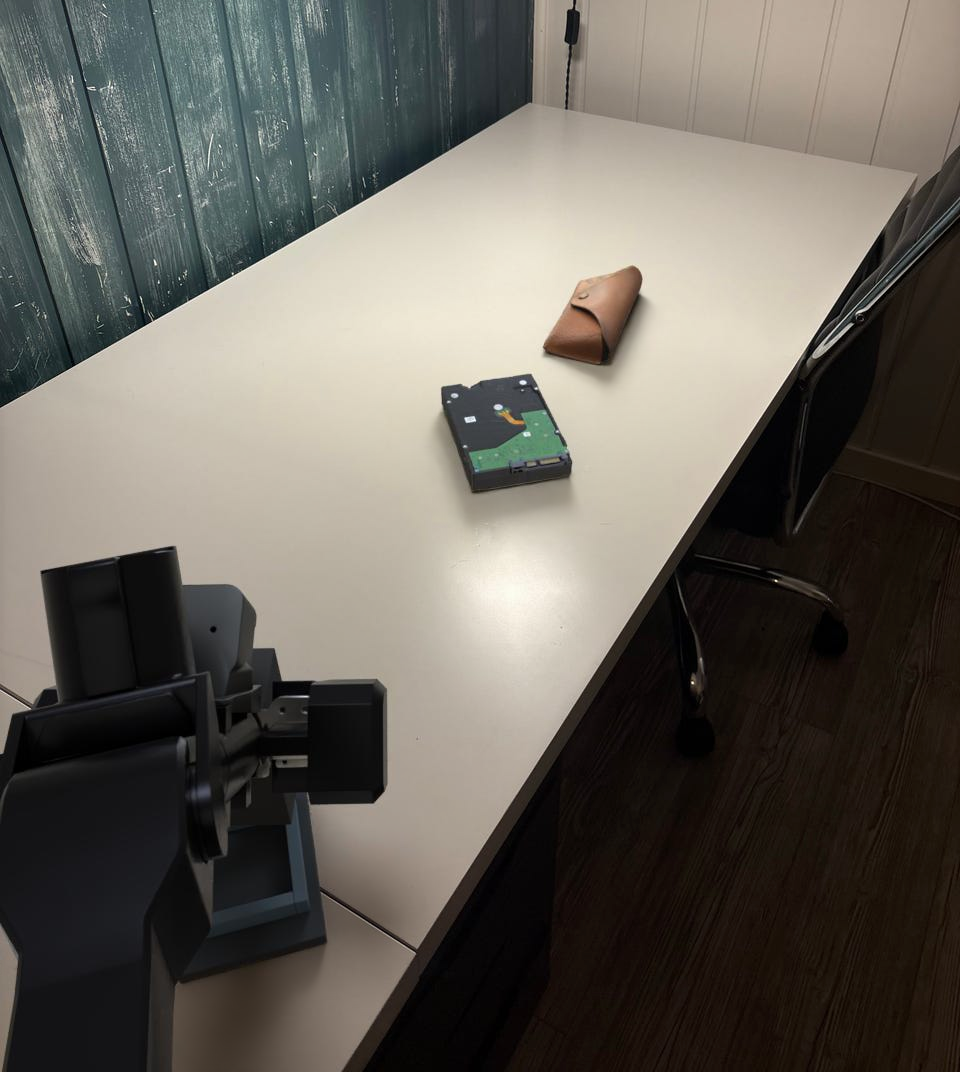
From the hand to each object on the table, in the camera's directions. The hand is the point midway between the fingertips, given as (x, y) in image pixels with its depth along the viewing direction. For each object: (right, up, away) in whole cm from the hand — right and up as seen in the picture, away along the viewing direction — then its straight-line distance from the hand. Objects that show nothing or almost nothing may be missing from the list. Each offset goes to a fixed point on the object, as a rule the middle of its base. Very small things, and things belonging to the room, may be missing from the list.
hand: (249, 715), depth 59 cm
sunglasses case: (+28, +31, +57) cm, 71 cm away
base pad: (-1, -12, +4) cm, 12 cm away
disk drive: (+17, +17, +39) cm, 46 cm away
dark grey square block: (0, -6, +3) cm, 7 cm away
